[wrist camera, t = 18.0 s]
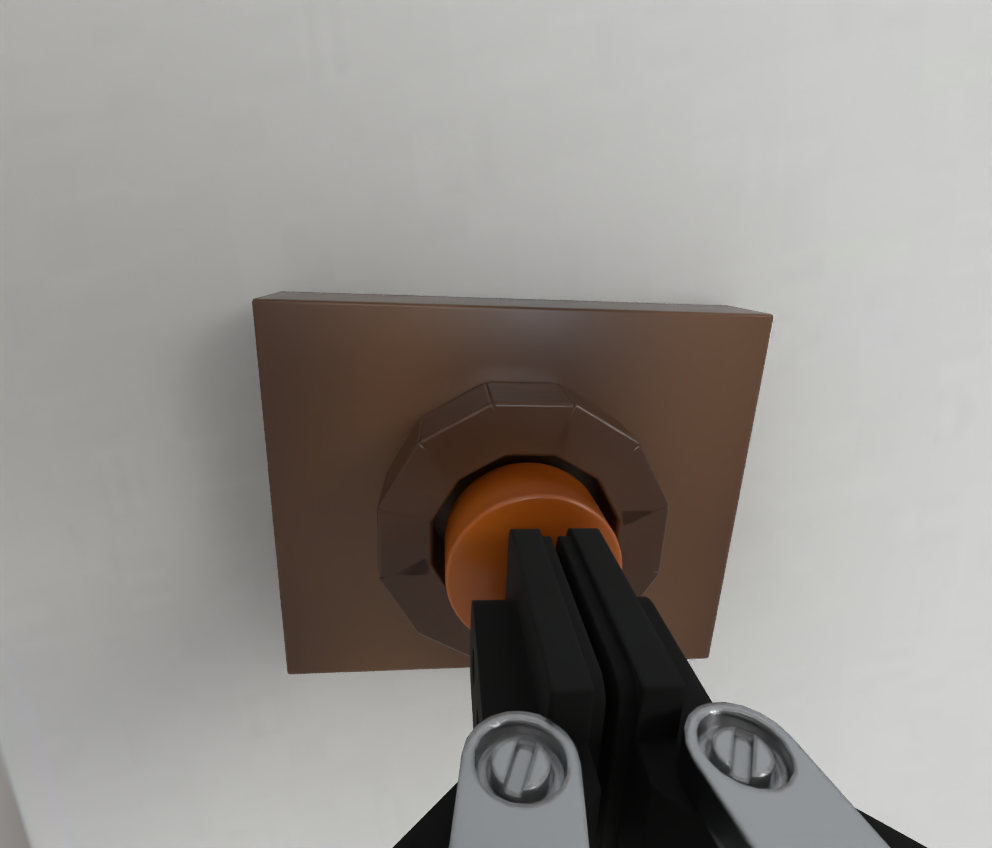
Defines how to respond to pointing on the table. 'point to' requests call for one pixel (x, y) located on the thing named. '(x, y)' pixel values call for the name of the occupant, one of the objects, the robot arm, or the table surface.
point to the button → (510, 526)
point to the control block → (492, 451)
